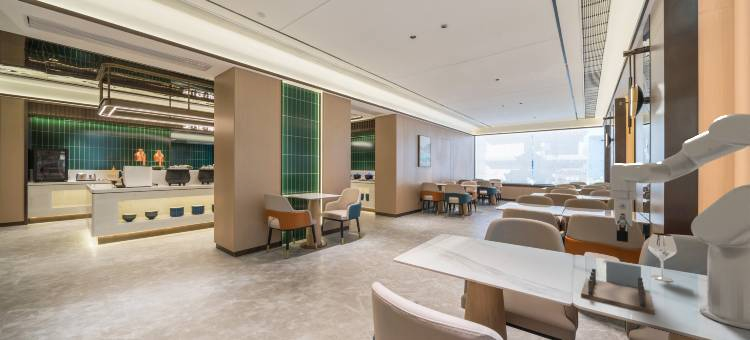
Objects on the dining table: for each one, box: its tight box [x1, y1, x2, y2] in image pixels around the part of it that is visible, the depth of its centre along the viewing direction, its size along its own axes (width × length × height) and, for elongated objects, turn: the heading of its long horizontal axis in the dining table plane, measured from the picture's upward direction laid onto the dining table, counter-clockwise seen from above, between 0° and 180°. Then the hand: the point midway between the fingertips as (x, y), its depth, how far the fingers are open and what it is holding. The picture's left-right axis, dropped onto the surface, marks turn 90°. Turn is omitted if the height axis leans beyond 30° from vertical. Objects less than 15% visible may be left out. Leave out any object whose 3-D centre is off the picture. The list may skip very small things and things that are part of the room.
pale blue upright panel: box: [605, 259, 642, 288], centre depth 109 cm, size 10×2×8 cm, turn 49°
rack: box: [580, 268, 655, 315], centre depth 98 cm, size 18×19×6 cm
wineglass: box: [647, 232, 678, 282], centre depth 114 cm, size 8×8×18 cm
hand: (622, 239), depth 109 cm, fingers open, 9 cm apart
